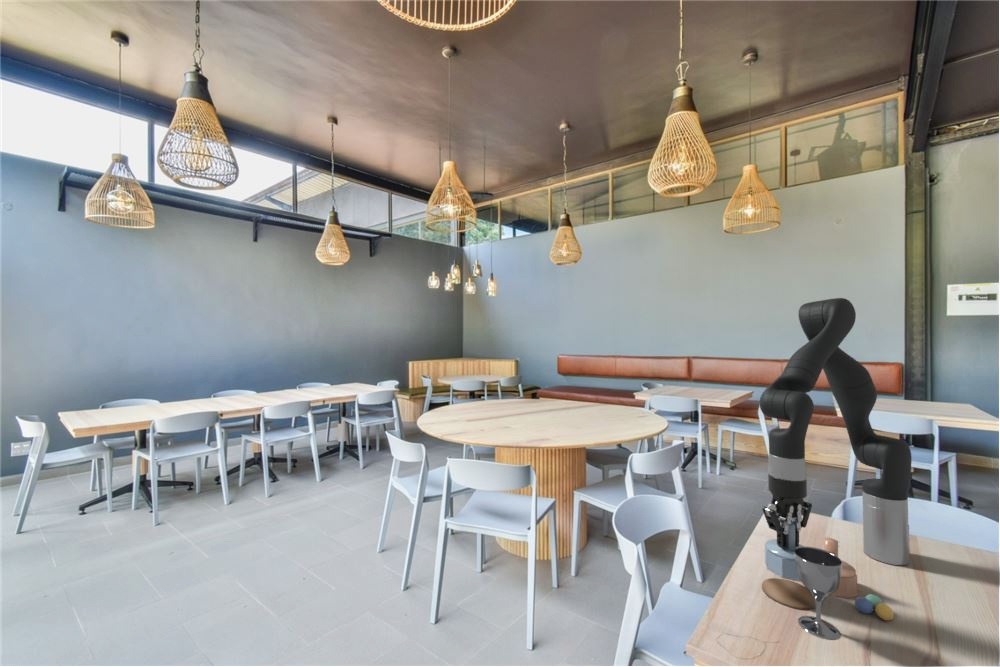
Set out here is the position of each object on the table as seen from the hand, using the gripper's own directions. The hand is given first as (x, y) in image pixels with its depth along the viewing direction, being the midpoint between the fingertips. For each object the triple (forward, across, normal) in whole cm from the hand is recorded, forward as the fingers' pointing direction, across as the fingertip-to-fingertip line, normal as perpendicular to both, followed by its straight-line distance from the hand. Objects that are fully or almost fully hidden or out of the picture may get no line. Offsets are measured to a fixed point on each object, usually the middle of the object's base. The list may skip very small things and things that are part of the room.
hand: (788, 546), depth 98 cm
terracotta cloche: (+11, -13, +1) cm, 17 cm away
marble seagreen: (+11, -13, +10) cm, 20 cm away
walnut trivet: (+11, 0, 0) cm, 11 cm away
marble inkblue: (+11, -9, +10) cm, 18 cm away
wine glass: (+12, +5, +10) cm, 16 cm away
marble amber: (+11, -11, +13) cm, 20 cm away
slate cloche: (+6, 0, 0) cm, 6 cm away
